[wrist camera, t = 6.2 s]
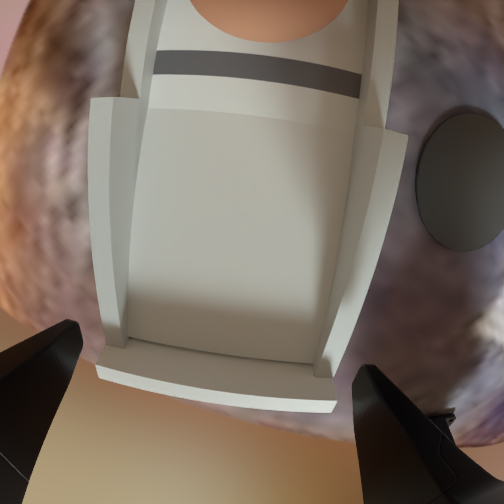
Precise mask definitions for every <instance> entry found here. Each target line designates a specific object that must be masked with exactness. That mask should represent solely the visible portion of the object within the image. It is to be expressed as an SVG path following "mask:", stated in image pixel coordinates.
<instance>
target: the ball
mask: <svg viewBox="0 0 504 504" xmlns="http://www.w3.org/2000/svg"><path fill="white" fill-rule="evenodd" d="M190 1H191V3H192V5H193V6H194V8H195V9H196V10H197V11H198V13H199V14H200V15H201V16H202V17H203V18H204V19H206V20H207V21H208V22H209V23H210V24H212V25H213V26H215V27H216V28H218V29H220V30H221V31H223V32H225V33H227V34H230V35H232V36H235V37H238V38H241V39H245V40H250V41H256V42H268V43H275V42H286V41H291V40H296V39H300V38H303V37H306V36H308V35H311V34H313V33H315V32H317V31H319V30H321V29H322V28H324V27H325V26H327V25H328V24H329V23H331V22H332V21H333V20H334V19H335V18H336V17H337V16H338V15H339V14H340V13H341V11H342V10H343V9H344V7H345V5H346V3H347V2H348V0H190Z"/></svg>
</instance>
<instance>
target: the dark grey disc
mask: <svg viewBox="0 0 504 504" xmlns="http://www.w3.org/2000/svg"><path fill="white" fill-rule="evenodd" d="M416 199H417V205H418V209H419V213H420V216H421V218H422V221H423V223H424V225H425V226H426V228H427V230H428V231H429V232H430V234H431V235H432V236H433V237H434V238H435V239H436V240H437V241H438V242H440V243H441V244H442V245H444V246H446V247H448V248H450V249H453V250H456V251H471V250H475V249H478V248H480V247H482V246H484V245H486V244H488V243H489V242H490V241H492V240H493V239H494V238H495V237H496V236H497V235H498V234H499V233H500V232H501V231H502V230H503V228H504V130H503V129H502V128H501V127H500V126H499V125H498V124H497V123H496V122H494V121H493V120H491V119H490V118H488V117H485V116H483V115H479V114H473V113H464V114H458V115H455V116H453V117H451V118H449V119H447V120H445V121H444V122H443V123H442V124H440V125H439V126H438V127H437V128H436V129H435V130H434V132H433V133H432V134H431V136H430V137H429V139H428V140H427V142H426V144H425V146H424V148H423V151H422V153H421V156H420V160H419V163H418V168H417V174H416Z"/></svg>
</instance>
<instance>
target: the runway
mask: <svg viewBox="0 0 504 504" xmlns="http://www.w3.org/2000/svg"><path fill="white" fill-rule="evenodd" d="M398 4H399V0H348V2H347V3H346V5H345V7H344V9H343V10H342V11H341V13H340V14H339V15H338V16H337V17H336V18H335V19H334V20H333V21H332V22H331V23H329V24H328V25H327V26H325V27H324V28H322V29H321V30H319V31H317V32H315V33H313V34H311V35H308V36H306V37H303V38H300V39H296V40H291V41H286V42H275V43H268V42H256V41H250V40H245V39H241V38H238V37H235V36H232V35H230V34H227V33H225V32H223V31H221V30H220V29H218V28H216V27H215V26H213V25H212V24H210V23H209V22H208V21H207V20H206V19H204V18H203V17H202V16H201V15H200V14H199V13H198V11H197V10H196V9H195V8H194V6H193V5H192V3H191V1H190V0H135V4H134V9H133V13H132V18H131V23H130V28H129V34H128V40H127V45H126V52H125V58H124V65H123V73H122V81H121V89H120V97H100V98H91V102H90V115H89V133H88V204H89V223H90V236H91V247H92V257H93V266H94V274H95V282H96V289H97V296H98V302H99V308H100V314H101V319H102V325H103V330H104V335H105V340H106V347H105V348H104V350H103V352H102V353H101V355H100V357H99V359H98V360H97V362H96V364H95V366H96V369H97V373H98V376H99V378H101V379H105V380H108V381H112V382H115V383H119V384H123V385H126V386H130V387H134V388H138V389H143V390H147V391H151V392H156V393H160V394H165V395H170V396H175V397H180V398H185V399H191V400H197V401H202V402H209V403H215V404H222V405H230V406H238V407H246V408H256V409H266V410H278V411H294V412H318V413H331V412H332V410H333V408H334V407H335V405H336V403H337V401H338V400H337V395H336V390H335V385H334V380H333V377H334V375H335V373H336V370H337V368H338V366H339V364H340V361H341V359H342V357H343V354H344V352H345V349H346V347H347V344H348V342H349V340H350V337H351V335H352V332H353V329H354V327H355V324H356V322H357V319H358V316H359V314H360V311H361V308H362V306H363V303H364V300H365V297H366V294H367V291H368V289H369V286H370V283H371V280H372V277H373V274H374V271H375V268H376V264H377V261H378V258H379V255H380V252H381V248H382V245H383V242H384V238H385V235H386V231H387V228H388V224H389V220H390V217H391V213H392V209H393V205H394V201H395V197H396V193H397V189H398V185H399V181H400V176H401V172H402V167H403V163H404V158H405V153H406V148H407V142H408V137H409V136H408V135H405V134H402V133H398V132H395V131H392V130H388V129H385V124H386V118H387V111H388V105H389V98H390V91H391V84H392V76H393V67H394V58H395V48H396V37H397V23H398Z"/></svg>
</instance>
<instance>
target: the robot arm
mask: <svg viewBox="0 0 504 504" xmlns="http://www.w3.org/2000/svg"><path fill="white" fill-rule="evenodd" d="M82 347H83V338H82V334H81V330H80V326H79V324H78V322H76V321H73V320H70V319H66V320H64V321H62V322H60V323H58V324H56V325H54V326H52V327H50V328H48V329H46V330H44V331H42V332H40V333H38V334H36V335H34V336H32V337H30V338H28V339H26V340H24V341H22V342H20V343H18V344H16V345H14V346H12V347H10V348H8V349H6V350H4V351H2V352H0V504H22V501H23V498H24V495H25V492H26V489H27V486H28V483H29V480H30V476H31V474H32V471H33V468H34V465H35V463H36V460H37V457H38V455H39V453H40V450H41V447H42V445H43V442H44V440H45V437H46V435H47V433H48V430H49V428H50V425H51V423H52V421H53V418H54V416H55V414H56V412H57V409H58V407H59V405H60V403H61V401H62V398H63V396H64V394H65V392H66V389H67V388H68V385H69V383H70V380H71V378H72V375H73V372H74V369H75V366H76V364H77V361H78V358H79V355H80V353H81V350H82ZM352 399H353V422H354V433H355V440H356V447H357V454H358V460H359V468H360V475H361V484H362V492H363V501H364V504H504V481H501V480H498V479H496V478H495V477H493V476H492V475H491V474H489V473H488V472H487V471H485V470H484V469H483V468H482V467H481V466H479V465H478V464H477V463H476V462H474V461H473V460H472V459H471V458H469V457H468V456H467V455H466V454H465V453H464V452H462V451H461V450H460V449H459V448H458V447H457V446H456V444H455V442H454V439H453V437H452V434H451V432H450V429H449V426H450V425H451V424H452V423H453V422H454V420H455V419H456V417H455V415H454V414H448V415H442V416H435V417H427V416H426V415H425V414H424V413H423V412H422V411H421V410H420V409H419V408H418V407H417V406H416V405H415V404H414V403H413V402H412V401H411V400H410V399H409V398H408V397H407V396H406V395H405V394H404V393H403V392H402V391H401V390H400V389H399V388H398V387H397V386H396V385H395V384H393V383H392V382H391V381H390V380H389V379H388V378H387V377H386V376H385V375H384V374H383V373H382V372H381V371H380V370H379V369H378V368H377V367H376V366H375V365H373V364H363V365H362V366H361V367H360V368H359V371H358V373H357V375H356V377H355V379H354V381H353V383H352Z"/></svg>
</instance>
